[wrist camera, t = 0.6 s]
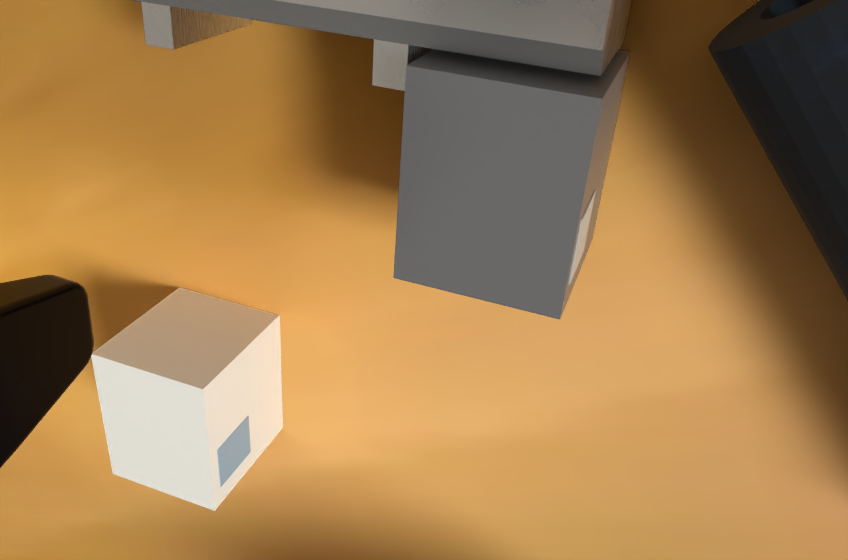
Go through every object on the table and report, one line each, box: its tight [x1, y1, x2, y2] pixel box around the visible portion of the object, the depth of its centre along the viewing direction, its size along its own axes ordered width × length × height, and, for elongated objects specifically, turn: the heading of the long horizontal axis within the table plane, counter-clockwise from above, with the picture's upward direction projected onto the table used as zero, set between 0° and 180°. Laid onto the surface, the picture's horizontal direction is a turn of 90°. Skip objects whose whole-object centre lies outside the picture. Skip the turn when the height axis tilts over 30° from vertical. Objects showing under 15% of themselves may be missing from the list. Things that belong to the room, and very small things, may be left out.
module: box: [91, 287, 283, 511], centre depth 26 cm, size 5×4×4 cm
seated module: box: [394, 49, 631, 319], centre depth 18 cm, size 5×4×4 cm
